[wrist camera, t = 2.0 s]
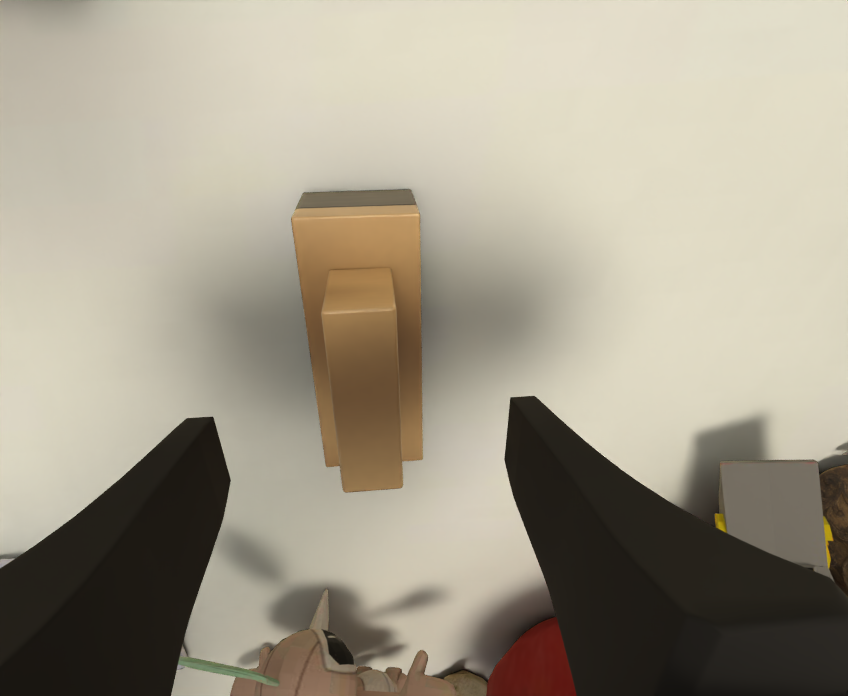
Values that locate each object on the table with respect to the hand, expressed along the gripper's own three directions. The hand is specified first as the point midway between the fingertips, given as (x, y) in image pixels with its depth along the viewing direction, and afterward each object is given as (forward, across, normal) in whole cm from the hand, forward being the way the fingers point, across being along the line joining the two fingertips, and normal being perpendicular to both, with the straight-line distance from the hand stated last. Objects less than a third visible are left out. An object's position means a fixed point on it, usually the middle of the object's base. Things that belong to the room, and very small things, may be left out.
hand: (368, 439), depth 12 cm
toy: (+6, +1, +22) cm, 23 cm away
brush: (+7, 0, 0) cm, 7 cm away
